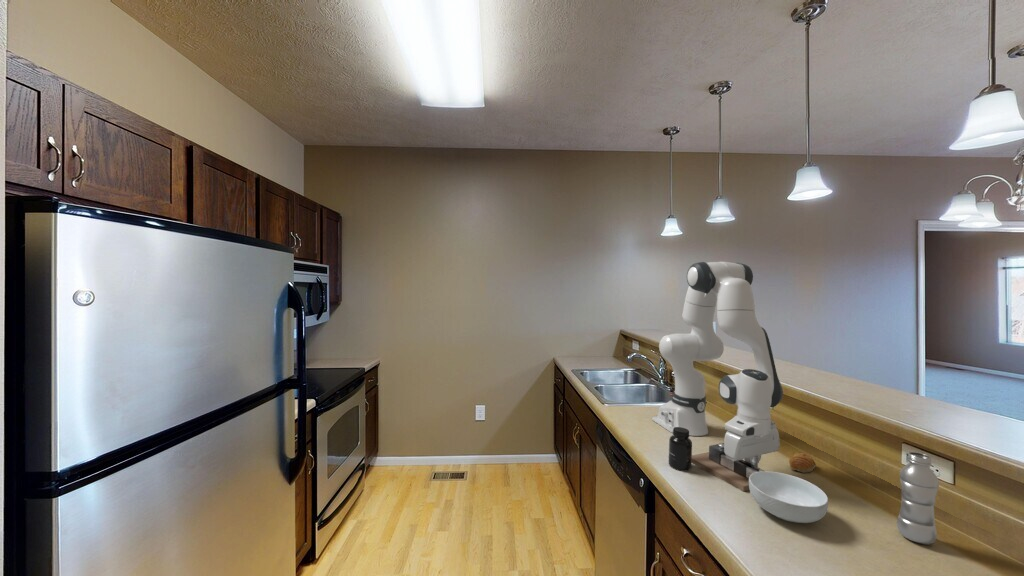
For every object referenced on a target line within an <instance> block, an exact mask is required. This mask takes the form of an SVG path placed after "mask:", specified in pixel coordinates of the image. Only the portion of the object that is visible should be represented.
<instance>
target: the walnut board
mask: <svg viewBox="0 0 1024 576" xmlns="http://www.w3.org/2000/svg"><path fill="white" fill-rule="evenodd" d="M691 464H693V465H694V464H695V465H694V466H696V467H698V468H700V469H701V470H703V469H704V470H703V471H705V472H707V473H709V474H710V475H713V476H715V477H716V478H718V479H720V480H721V481H723V482H725V483H727V484H729V485H730V486H733V488H734V487H735V489H738V490H740V491H741V492H747V491H750V489H749V479H748V478H745V477H743V476H741V475H740V474H738V473H736V472H734V471H733V470H731V469H729V468H727V467H725V466H723V465H719V464H717V463H715V462H713V461H711V460H709V451H708V452H702V453H699V454H694V455H693V454H692V461H691ZM762 471H765V470H764V469H762Z"/></svg>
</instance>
